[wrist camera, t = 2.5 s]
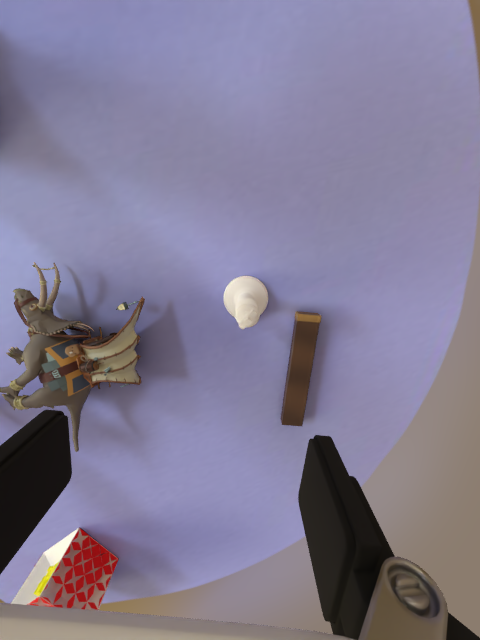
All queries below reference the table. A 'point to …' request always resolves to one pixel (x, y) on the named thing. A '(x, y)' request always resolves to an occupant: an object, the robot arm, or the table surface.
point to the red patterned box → (69, 575)
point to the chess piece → (246, 300)
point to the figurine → (68, 356)
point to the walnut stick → (300, 367)
